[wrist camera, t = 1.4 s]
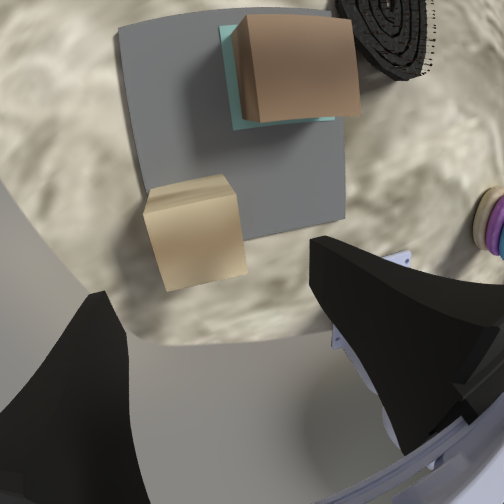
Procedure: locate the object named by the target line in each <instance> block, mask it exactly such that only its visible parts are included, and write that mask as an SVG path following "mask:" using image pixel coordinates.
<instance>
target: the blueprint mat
mask: <svg viewBox="0 0 504 504" xmlns="http://www.w3.org/2000/svg"><path fill="white" fill-rule="evenodd" d="M247 14H294V15H311V16H323V17H332V13H331V11H326V10H316V9H303V8H282V7H252V8H231V9H218V10H208V11H199V12H192V13H185V14H178V15H173V16H167V17H162V18H157V19H152V20H148V21H143V22H139V23H135V24H131V25H127V26H124V27H120V28H118V33H119V43H120V52H121V60H122V67H123V75H124V82H125V88H126V95H127V101H128V107H129V113H130V118H131V124H132V129H133V134H134V139H135V144H136V149H137V154H138V158H139V163H140V167H141V172H142V176H143V181H144V185H145V189H146V193H147V197H148V196H149V193H150V189H153V188H157V187H162V186H166V185H170V184H175V183H179V182H184V181H188V180H193V179H198V178H203V177H207V176H212V175H218V174H223V175H224V177H225V178H226V180H227V181H228V183H229V184H230V186H231V187H232V189H233V190H234V192H235V193H236V196H237V203H238V210H239V217H240V223H241V230H242V237H243V240H247V239H252V238H256V237H261V236H266V235H270V234H275V233H280V232H284V231H289V230H294V229H299V228H303V227H308V226H313V225H318V224H322V223H327V222H332V221H337V220H342V219H345V144H344V123H343V116H338V117H318V118H304V119H292V120H281V121H272V122H263V123H259V122H254V121H249V120H244V119H242V113H241V105H240V98H239V90H238V83H237V75H236V68H235V60H234V53H233V45H232V38H231V33H232V32H233V31H234V29H235V28H236V27H237V26H238V24H239V23H240V22H241V21H242V19H243V18H244V17H245V16H246V15H247Z"/></svg>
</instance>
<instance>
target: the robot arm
mask: <svg viewBox="0 0 504 504" xmlns="http://www.w3.org/2000/svg"><path fill="white" fill-rule="evenodd" d="M405 260H406V261H405ZM410 260H411V252H410V251H408V250H405V251H402V252H398V253H395V254H391V255H388V256H385V257H378V256H376V255H374V254H371V253H369V252H366V251H364V250H361V249H359V248H357V247H354V246H352V245H349V244H347V243H345V242H342V241H340V240H337V239H334V238H331V237H328V236H321V237H317V238H313V239H310V263H309V286H310V288H311V290H312V292H313V293H314V295H315V297H316V299H317V301H318V302H319V304H320V306H321V308H322V309H323V310H324V312H325V313H326V314H327V316H328V317H329V319H330V320H331V321H332V323H333V330H332V341H331V347H332V348H333V349H337V348H341V347H342V348H343V349H344V351H345V353H346V354H347V356H348V357H349V359H350V360H351V362H352V364H353V365H354V367H355V368H356V370H357V371H358V373H359V375H360V376H361V378H362V379H363V381H364V382H365V384H366V385H367V387H368V388H369V389H370V390H371V391H372V392H374V393H375V394H377V395H378V396H379V398H380V400H381V402H382V404H383V422H384V426H385V429H386V431H387V433H388V435H389V437H390V438H391V439H392V441H393V442H394V443H395V445H396V446H397V447H398V448H399V449H400V450H401V451H402V453H403V454H404V456H405V457H403V458H402V459H400V460H399V461H397V462H395V463H394V464H392V465H390V466H389V467H387V468H385V469H383V470H382V471H380V472H378V473H376V474H374V475H372V476H371V477H369V478H367V479H365V480H363V481H361V482H359V483H357V484H355V485H353V486H351V487H349V488H347V489H344V490H343V491H340V492H338V493H336V494H333V495H331V496H329V497H326V498H324V499H321V500H319V501H317V502H314V503H311V504H365V503H367V502H369V501H371V500H373V499H375V498H377V497H378V496H380V495H382V494H384V493H386V492H387V491H389V490H391V489H392V488H394V487H396V486H397V485H399V484H401V483H402V482H404V481H405V480H407V479H408V478H410V477H411V476H413V475H414V474H416V473H417V472H419V471H420V470H422V469H423V468H425V467H426V466H427V467H428V468H429V469H431V470H432V472H430V473H429V474H427V475H426V476H424V477H423V478H421V479H420V480H418V481H417V482H415V483H414V484H412V485H411V486H409V487H408V488H406V489H405V490H403V491H401V492H400V493H398V494H397V495H395V496H393V497H392V498H391V501H392V503H393V504H502V503H503V502H504V285H496V284H482V283H474V282H466V281H460V280H455V279H450V278H445V277H440V276H436V275H432V274H429V273H425V272H422V271H418V270H415V269H411V268H409V265H410ZM0 504H151V503H150V500H149V498H148V495H147V492H146V489H145V486H144V483H143V479H142V476H141V472H140V469H139V465H138V461H137V457H136V452H135V448H134V443H133V437H132V432H131V426H130V415H129V356H128V346H127V337H126V332H125V330H124V328H123V327H122V325H121V323H120V321H119V319H118V317H117V315H116V313H115V311H114V309H113V307H112V305H111V303H110V301H109V298H108V296H107V294H106V292H105V291H101V292H97V293H93V294H89V295H88V297H87V298H86V299H85V301H84V302H83V303H82V305H81V306H80V308H79V309H78V311H77V312H76V314H75V315H74V317H73V318H72V320H71V321H70V323H69V324H68V326H67V327H66V329H65V331H64V332H63V334H62V335H61V337H60V338H59V340H58V341H57V342H56V344H55V345H54V347H53V348H52V350H51V351H50V353H49V354H48V356H47V357H46V359H45V360H44V362H43V363H42V364H41V366H40V367H39V368H38V370H37V371H36V372H35V374H34V375H33V376H32V377H31V379H30V380H29V381H28V383H27V384H26V385H25V386H24V387H23V389H22V390H21V391H20V392H19V393H18V394H17V395H16V397H15V398H14V399H13V400H12V401H11V402H10V404H9V405H8V406H7V407H6V408H5V409H4V410H3V411H2V412H1V413H0Z"/></svg>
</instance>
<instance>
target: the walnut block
mask: <svg viewBox="0 0 504 504" xmlns="http://www.w3.org/2000/svg"><path fill="white" fill-rule="evenodd" d="M231 38H232V45H233V53H234V60H235V68H236V75H237V83H238V90H239V98H240V105H241V113H242V119H244V120H249V121H254V122H259V123H263V122H272V121H281V120H292V119H304V118H318V117H338V116H361V106H360V91H359V79H358V69H357V60H356V51H355V43H354V36H353V29H352V23H351V20H348V19H341V18H333V17H323V16H311V15H294V14H247V15H246V16H245V17H244V18H243V19H242V21H241V22H240V23H239V24H238V26H237V27H236V28H235V29H234V31H233V32H232V33H231Z"/></svg>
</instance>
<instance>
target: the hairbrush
mask: <svg viewBox="0 0 504 504" xmlns="http://www.w3.org/2000/svg"><path fill="white" fill-rule="evenodd" d="M386 1H388V0H336V8H337V10H338V13H339V15H340V18H341V19H348V20H351V23H352V29H353V36H354V43H355V46H356V48H357V49H358V50H359V51H360V52H361V53H362V55H363V56H364V57H365V58H366V59H367V61H368V62H369V63H370V64H371V65H372V66H373V67H375V68H376V69H378V70H380V71H381V72H383V73H384V74H386V75H387V76H389V77H390V78H391V79H393V80H394V81H408V80H409V79H411V78H415V77H418V76H422V75H421V74H423V75H425V74H426V72H424V73H425V74H424V73H421V70H423V69H422V66H423V62H424V59H425V54H426V46H427V45H426V38H427V25H428V24H427V14H426V11H427V10H426V3H425V1H426V0H390V1H391V7H392V8H391V9H390V11H388V9H389V8H390V7H389V8H388V7H387V3H388V2H386ZM432 1H433V0H432ZM431 4H434V3H431ZM433 11H434V12H435V10H433ZM430 15H431V14H430ZM433 15H434V16H435V14H433ZM433 19H435V18H434V17H433ZM434 26H436V25H434ZM434 28H435V29H436V27H434ZM433 33H436V32H433ZM394 34H395V35H394ZM392 35H394V36H393V37H392V38H390V36H392ZM435 40H436V39H432V40H429V41H435ZM432 47H434V46H432ZM396 53H399V55H398V56H396V55H393V54H396ZM428 53H429V52H428ZM431 53H432V54H434V52H431ZM429 60H432V59H429ZM406 63H407V64H406ZM404 64H406V66H404V67H397V68H395V67H394V66H401V65H404ZM424 65H428V64H427V63H425V64H424ZM429 66H432V64H430V65H429ZM427 71H430V70H427Z"/></svg>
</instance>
